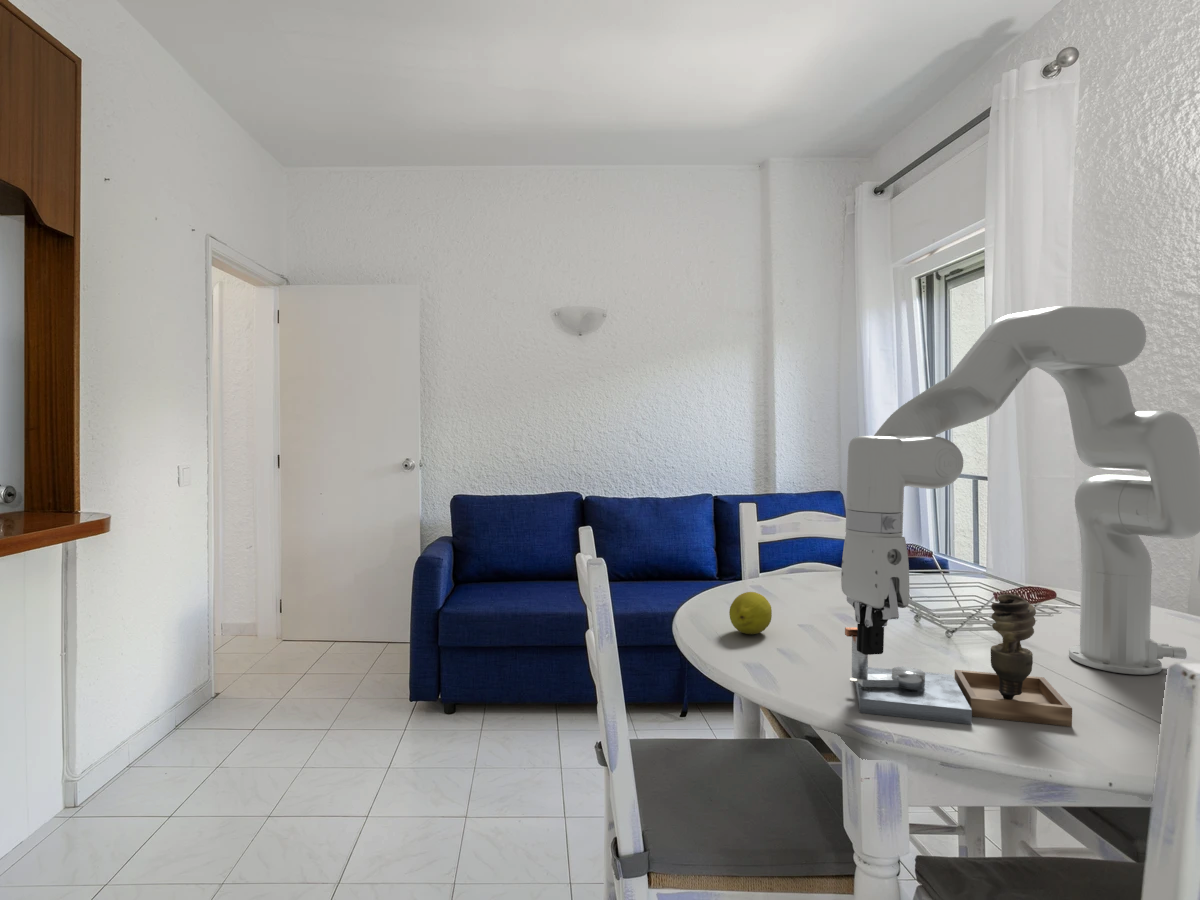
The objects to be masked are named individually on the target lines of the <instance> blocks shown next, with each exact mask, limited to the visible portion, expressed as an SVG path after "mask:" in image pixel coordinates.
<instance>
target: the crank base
mask: <svg viewBox="0 0 1200 900" xmlns="http://www.w3.org/2000/svg"><path fill="white" fill-rule="evenodd" d="M892 669H893V668H891V669H890V668H882V667H880V668H879V667H870V666H868V674H892ZM923 672H924V673H925V687H924V688H923V689H917V690H912V689H904V688H900V687H862V686H861V685H860V684H859V682H858V681H857V679H855V678H853V677H849V683H850V682H851V683H854V684H855V690H856V691H855V692H856V698H857V702H858V709H859V713H860V714H868V715H878V716H888V717H897V718H906V719H913V720H916V719H917V720H924V721H925V720H926V721H933V722H944V723H953V724H960V725H961V724H962V725H971V726H972V724H973V722H972V720H973V719H972V718H973V716H972V709H971V707H970V706H969V704H968V702H967V700H966V698H965V697H964V695H963V693H962V691H961V690H960V688H959V686H958V684H957V682H956V681H955V676H954V675H953V674H949V673H939V672H938V673H936V672H926V671H923Z"/></svg>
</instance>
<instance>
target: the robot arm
mask: <svg viewBox="0 0 1200 900" xmlns="http://www.w3.org/2000/svg"><path fill="white" fill-rule="evenodd" d="M1146 340H1147V330H1146V326H1145V325H1144V322H1143V321H1142V320H1141V318H1140V317H1139V316H1138V315H1137V314H1136V313H1134V312H1133V311H1131V310H1127V309H1125V308H1121V307H1120V308H1119V307H1097V306H1096V307H1094V306H1078V305H1077V306H1076V305H1074V306H1071V305H1070V306H1067V305H1066V306H1065V305H1063V306H1061V305H1060V306H1052V307H1051V306H1050V307H1045V308H1039V309H1033V310H1028V311H1021V312H1015V313H1012V314H1011V313H1009V314H1006V315H1004V316H1001V317H1000V318H997V319H995V321H992V323H990V325H988V327H987V328H986V329H985V331H984V332H983V333H982V334H981V335H980V337H978V339H977V340H976V341H975V343H974V344H972V346H971V348H969V350H968V351H967V353H966V354H964V355H963V357H962V359H961V360H959V362H958V363H957V365H955V367H954V369H953V370H951V372H950V373H949V374H948V375H947V376H946V377H945V378H944V379H942V380H941V381H939V382H937V383H935V384H934V385H932V386H930V387H928V388H927V389H925V390H923V391H922V392H921V393H919V394H918V395H916V396H915V397H913V398H911V399H909V400H908V401H907V402H905V403H904V404H903V405H901V406H900V407H898V408H897V409H896V410H895V411H894V412H892V413H891V414H890V416H889V417H888V418H886V420H885V422H883V423H882V425H881V426H880V427H879V429H877V431H876V432H875V434H874V435H859V436H856V437H855V436H854V437H853V438H852V439H851V440H850V441H849V443H848V449H847V474H846V480H847V481H846V504H845V505H846V507H845V508H846V509H845V536H844V540H843V541H844V542H843V551H842V556H841V557H842V560H841V573H840V575H841V577H840V580H841V581H840V582H841V585H840V586H841V592H842V593H843V594H844V595H845V596H846V601H847V603H848V604H849V605H850V606H852V607H853V610H854V619H855V622H856V623H857V624H856V625H857V626H856V628H857V651H859V652H861V653H862V654H864V655H868V656H870V655H882V654H884V645H885V644H884V641H885V639H884V638H885V627H887V625H888V621H890V620H898V619H899V618H900V617H899V616H900V615H899V614H900V613H899V608H900V609H905V608H908V606H909V604H910V566H909V565H910V564H909V554H908V548H907V547H908V546H907V542H906V537H905V536H903V535H904V533H903V529H904V528H903V527H904V502H905V501H904V499H905V497H904V493H905V487H909V488H916V489H925V490H926V489H927V490H930V489H931V490H935V489H936V490H937V489H942V488H945V487H947V486H950V485H952V484H953V483H955V481H956V480H958V479H959V477H960V476H961V474H962V472H963V469H964V458H963V453H962V452H961V450H960V449H959V446H957V444H955V443H954V442H953V441H951V440H949V439H947V438H944V437H942V436H938V435H940V434H942V433H945V432H946V431H949V430H951V429H954V428H958V427H962V426H964V425H968V424H971V423H973V422H977V421H979V420H982V419H984V418H986V417H989V416H990V415H993V414H994V413H996V412H997V411H998V410H1000V409H1001V407H1002V406H1003V405H1004V403H1005V402H1006V400H1007V399H1008V398H1009V396H1010V395H1011V394H1012V393H1013V392H1014V390H1015V389H1016V387H1018V385H1019V384H1020V382H1021V381H1022V380H1023V379H1024V377H1025V376H1027V374H1028V372H1030V371H1031V370H1032V369H1035V368H1038V369H1039V370H1042V371H1043V372H1045V373H1047V374H1048V375H1050V376H1051V377H1052V378H1053V379H1054V380H1055V381H1057V383H1058V384H1059V386H1061V388H1062V390H1063V392H1064V395H1065V398H1066V399H1065V400H1066V402H1067V407H1068V413H1069V418H1070V424H1071V430H1072V435H1073V439H1074V440H1073V442H1074V445H1075V446H1074V447H1075V449H1076V453H1077V455H1078V458H1079V459H1080V462H1082V463H1083V464H1084V465H1085V466H1086V465H1087V466H1088V467H1092V468H1096V469H1100V470H1102V469H1103V470H1115V471H1117V470H1119V471H1132V472H1133V471H1136V472H1145V473H1147V475H1148V476H1144V475H1133V474H1115V473H1113V474H1112V473H1110V474H1108V473H1107V474H1105V473H1104V474H1099V475H1098V474H1097V475H1094V476H1091V477H1090V476H1089V477H1088V478H1087V479H1085V480H1083V481H1082V482H1081V483H1080V484H1079V486H1078V487H1077V489H1076V491H1075V495H1074V507H1075V514H1076V517H1077V522H1078V527H1079V534H1080V552H1081V553H1080V555H1081V558H1080V563H1081V564H1080V567H1081V568H1080V605H1079V606H1080V609H1079V610H1080V612H1079V614H1080V615H1079V616H1080V617H1079V618H1080V619H1079V620H1080V621H1079V644H1078V645H1073V646H1071V647H1069V649H1068V656H1069V658H1071V660H1073V661H1074V662H1076V663H1078V664H1081V665H1083V666H1086V667H1089V668H1092V669H1096V670H1100V671H1105V672H1110V673H1115V674H1116V673H1117V674H1124V675H1125V674H1126V675H1138V676H1140V675H1143V676H1144V675H1145V676H1147V675H1155V674H1158V673H1160V672H1161V671H1162V670H1163V667H1162V666H1163V664H1162V662H1161V661H1160V660H1163V659H1164V658H1171V659H1176V660H1177V659H1178V660H1179V659H1180V660H1185V659H1187V656H1188V653H1187V649H1186V648H1185V647H1184V646H1176V645H1175V646H1173V645H1169V643H1165V642H1164V643H1162V642H1158V641H1155V640H1153V639H1152V638H1151V614H1152V613H1151V611H1152V610H1151V609H1152V608H1151V607H1152V604H1151V603H1152V573H1153V572H1152V570H1153V569H1152V568H1153V567H1152V558H1151V556H1150V552H1149V550H1148V549H1147V547H1146V545H1145V544H1144V542H1143V540H1142V539H1141V537H1140V536H1146V537H1153V538H1159V539H1160V538H1161V539H1171V540H1185V539H1190V538H1193V537H1195V536H1197V535H1198V534H1199V533H1200V449H1199V448H1200V447H1199V443H1198V438H1197V434H1196V432H1195V430H1194V427H1193V425H1192V424H1191V423H1190V422H1189V420H1188V419H1187V418H1185V416H1183V415H1181V414H1179V413H1177V412H1174V411H1171V410H1138V409H1136V408H1135V407H1134V404H1133V400H1132V395H1131V390H1130V386H1129V382H1128V379H1127V376H1126V374H1125V373H1124V372H1123V370H1122V368H1121V366H1126V365H1127V364H1130V363H1132V362H1133V361H1135V359H1137V358H1138V357H1139V356H1140V355H1141V353H1142V352H1143V350H1144V349H1145V345H1146V342H1147V341H1146Z"/></svg>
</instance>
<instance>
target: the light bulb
mask: <svg viewBox="0 0 1200 900" xmlns="http://www.w3.org/2000/svg"><path fill="white" fill-rule="evenodd" d="M997 600H998V602H993V603H992V604H991V605H990V607H991V610H992V611H993V613H992V614H991V619H992V620H993V621H995V622H993V623H992V624H991V627H992V628H993V630H994V631H996V632H997V633H998V635H1001V637H1002V642H999V643H997V644H996V645H992V646H990V666H991V668H992V670H993V671H994V673H996V674H997V675H998V677H999V681H1000V686H999V692H1000V693H1001V695H1002V696H1003V698H1005V699H1013V697H1014V696H1015V695H1021V693H1022V691H1021V690H1022V685H1023V681H1024V680H1025V679H1026V677H1027V676H1030V674H1031V673H1032V670H1033V663H1034V662H1033V661H1034V660H1033V658H1034V657H1033V656H1034V653H1033V652H1032V651H1031V650H1030V649H1029V648H1025V647H1022V643H1021V642H1023V641H1025V640H1028V639H1030V638H1031V637H1032V636H1033V635H1034V634H1035V629H1034V626H1035V625H1036V618H1035V616H1036V614H1037V611H1036V608H1035V607H1034V606H1033V605H1032V604H1031V603H1029V601H1027V600H1026V599H1025V598H1023V597H1021V596H1020V595H1017V594H1013V593H1008V594H1007V593H1006V594H1005V593H1003V594H999V595H998V596H997Z"/></svg>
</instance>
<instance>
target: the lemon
mask: <svg viewBox="0 0 1200 900" xmlns="http://www.w3.org/2000/svg"><path fill="white" fill-rule="evenodd" d="M772 612H773V611H772V605H771V603H770V601H769V600H768V599H767V598H766V597H765V596H764V595H762V594H760V593H758V592H756V591H755V592H754V591H746V592H743V593H741V594H739V595H738V596H736V597H735V598H734V599H733V601H732V603H731V604H730V607H729V612H728V613H729V620H730V622H731V624H732V626H733V627H734V628H735V629H736V630H737V631H739V632H740V633H742V634H745V635H757V634H760V633H762V632H763V631H765V630H766V629H767V628H768V627H769V626H770V623H771V621H772V618H773V617H772V615H773V614H772Z"/></svg>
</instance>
